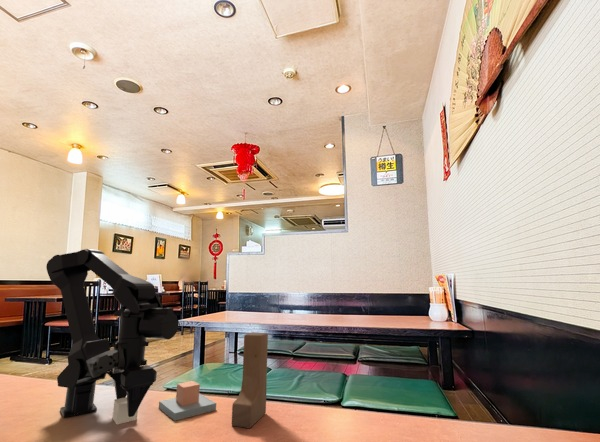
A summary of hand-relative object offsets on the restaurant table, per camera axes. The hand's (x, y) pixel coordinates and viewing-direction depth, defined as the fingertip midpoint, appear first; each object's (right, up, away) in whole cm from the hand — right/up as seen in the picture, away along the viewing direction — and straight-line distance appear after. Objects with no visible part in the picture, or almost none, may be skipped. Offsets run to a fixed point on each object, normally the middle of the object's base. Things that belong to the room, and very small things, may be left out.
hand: (125, 410), depth 73 cm
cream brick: (0, -2, 0) cm, 2 cm away
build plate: (+12, -3, +6) cm, 13 cm away
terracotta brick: (+12, -2, +6) cm, 13 cm away
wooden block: (+28, -2, 0) cm, 28 cm away
